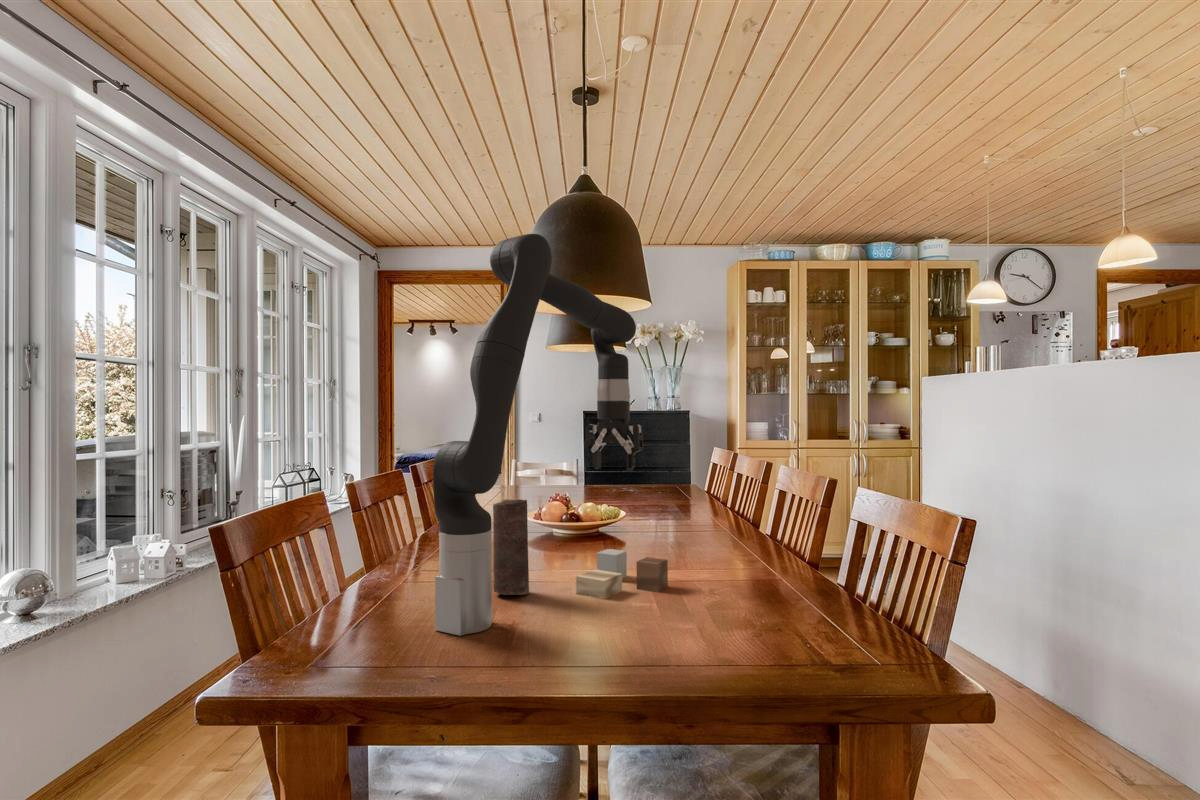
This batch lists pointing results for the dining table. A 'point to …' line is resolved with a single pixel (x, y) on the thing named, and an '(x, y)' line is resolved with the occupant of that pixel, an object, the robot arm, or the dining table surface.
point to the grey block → (612, 561)
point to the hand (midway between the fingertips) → (613, 469)
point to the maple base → (599, 584)
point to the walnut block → (652, 574)
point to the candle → (510, 547)
